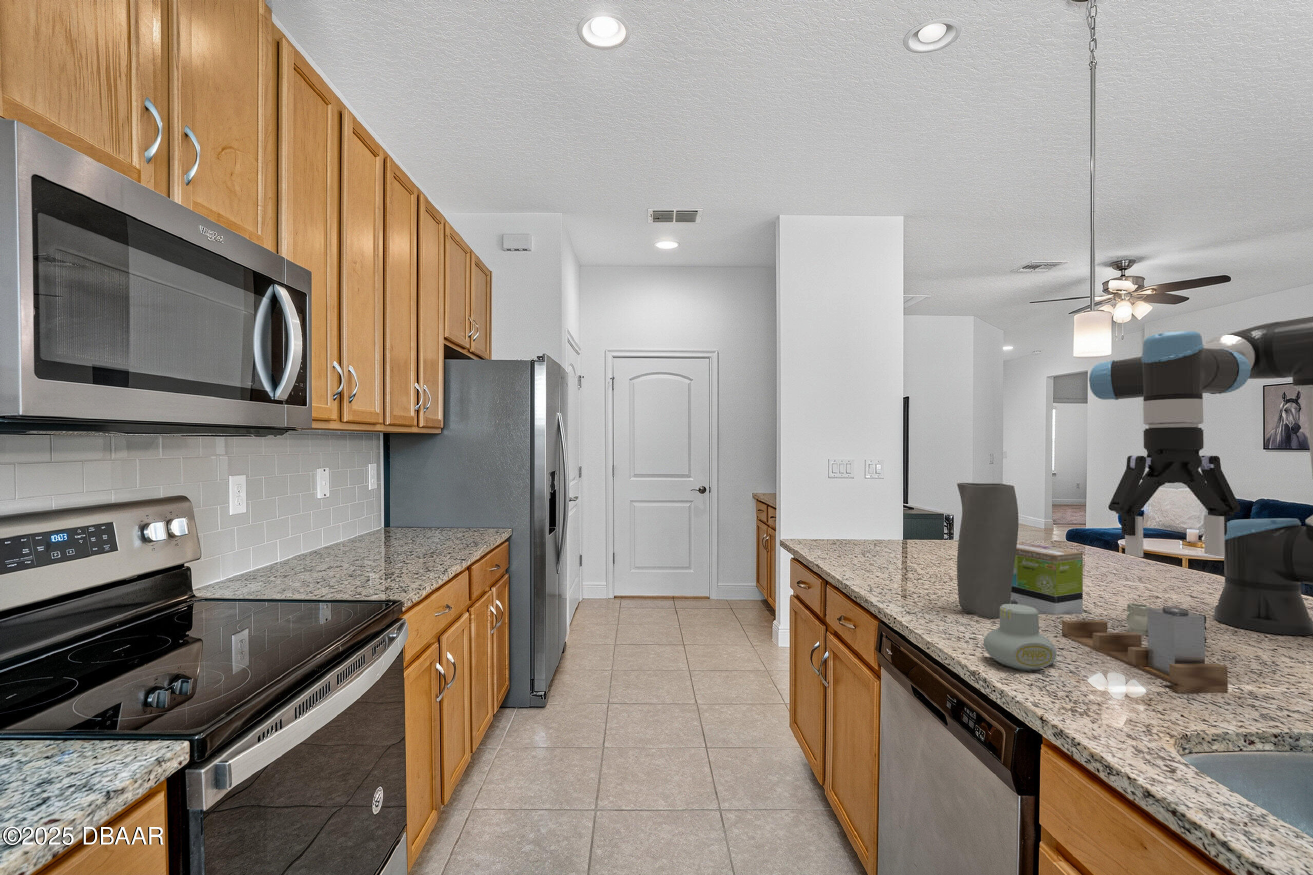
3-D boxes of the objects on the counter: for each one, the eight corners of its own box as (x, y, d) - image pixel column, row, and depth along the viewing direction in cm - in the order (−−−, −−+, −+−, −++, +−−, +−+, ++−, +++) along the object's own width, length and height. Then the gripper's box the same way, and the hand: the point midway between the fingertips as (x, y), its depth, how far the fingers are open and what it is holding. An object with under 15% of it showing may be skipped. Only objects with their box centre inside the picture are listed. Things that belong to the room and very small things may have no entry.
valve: (1124, 639, 120) (1204, 654, 112) (1123, 606, 121) (1204, 618, 112) (1128, 632, 125) (1206, 645, 117) (1128, 600, 125) (1206, 611, 117)
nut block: (1177, 667, 101) (1176, 604, 101) (1205, 679, 96) (1204, 612, 96) (1148, 668, 101) (1147, 604, 101) (1174, 679, 96) (1174, 612, 96)
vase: (1005, 610, 141) (1004, 482, 142) (1028, 625, 129) (1027, 486, 130) (949, 608, 143) (948, 482, 144) (966, 622, 131) (965, 485, 132)
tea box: (994, 603, 148) (994, 543, 148) (1022, 599, 152) (1021, 541, 152) (1056, 620, 134) (1055, 553, 134) (1084, 615, 138) (1084, 550, 138)
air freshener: (1034, 656, 110) (1034, 601, 110) (1066, 673, 102) (1065, 614, 102) (975, 656, 110) (975, 601, 110) (1002, 673, 102) (1002, 614, 102)
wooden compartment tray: (1101, 640, 119) (1101, 620, 119) (1227, 692, 94) (1227, 666, 94) (1062, 640, 119) (1062, 620, 119) (1178, 693, 94) (1177, 667, 94)
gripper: (1223, 427, 103) (1225, 551, 103) (1082, 427, 103) (1083, 551, 102) (1269, 425, 96) (1271, 559, 96) (1117, 425, 95) (1118, 560, 95)
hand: (1174, 555), depth 99 cm, fingers open, 13 cm apart
